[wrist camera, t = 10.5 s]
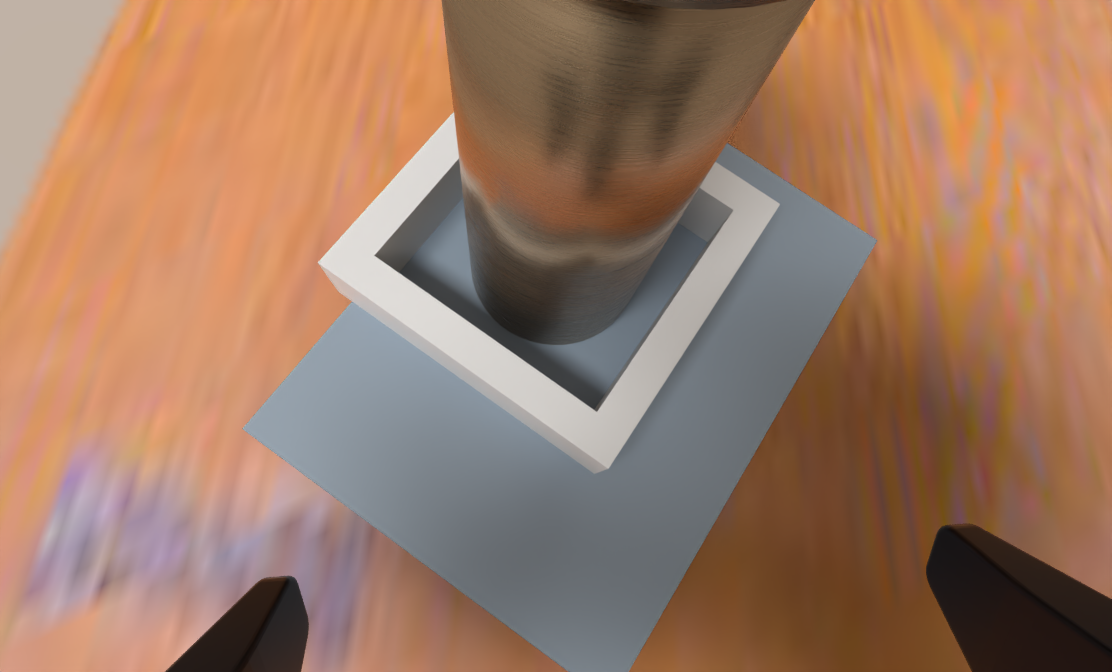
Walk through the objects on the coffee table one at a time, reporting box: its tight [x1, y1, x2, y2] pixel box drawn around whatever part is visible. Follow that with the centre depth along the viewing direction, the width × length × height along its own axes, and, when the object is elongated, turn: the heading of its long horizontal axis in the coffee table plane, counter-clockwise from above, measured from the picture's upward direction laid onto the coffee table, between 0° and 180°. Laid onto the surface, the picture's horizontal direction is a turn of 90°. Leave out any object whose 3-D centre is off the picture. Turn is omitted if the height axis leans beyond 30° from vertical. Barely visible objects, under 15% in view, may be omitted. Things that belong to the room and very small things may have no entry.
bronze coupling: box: [442, 0, 815, 345], centre depth 12 cm, size 6×6×14 cm
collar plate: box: [243, 112, 877, 672], centre depth 18 cm, size 16×12×3 cm
